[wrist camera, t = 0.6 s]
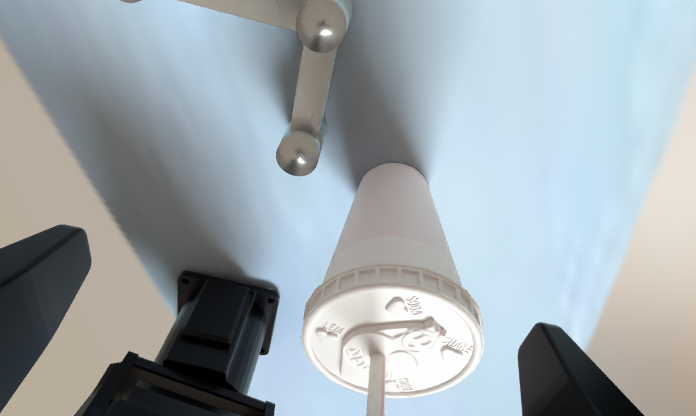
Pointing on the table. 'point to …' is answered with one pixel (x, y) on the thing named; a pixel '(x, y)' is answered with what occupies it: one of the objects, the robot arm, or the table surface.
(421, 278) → the smoothie
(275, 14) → the steel rail
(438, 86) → the table surface
